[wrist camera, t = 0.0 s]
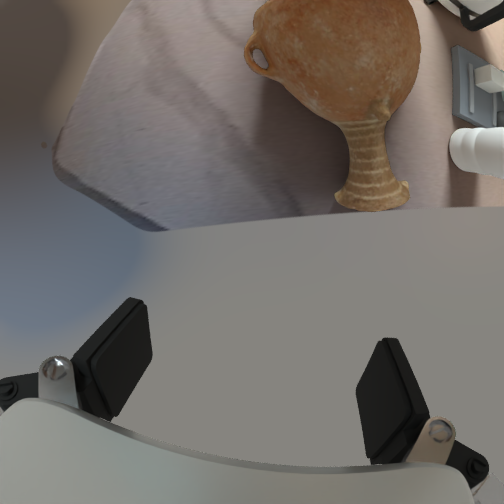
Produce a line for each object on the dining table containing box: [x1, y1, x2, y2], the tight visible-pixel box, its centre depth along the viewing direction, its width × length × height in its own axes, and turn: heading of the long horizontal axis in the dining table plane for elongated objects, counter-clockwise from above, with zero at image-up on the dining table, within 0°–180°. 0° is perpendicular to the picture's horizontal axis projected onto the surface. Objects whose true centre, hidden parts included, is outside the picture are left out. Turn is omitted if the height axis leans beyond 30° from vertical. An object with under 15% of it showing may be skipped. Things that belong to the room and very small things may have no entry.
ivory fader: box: [474, 64, 504, 93], centre depth 22 cm, size 3×4×5 cm
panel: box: [451, 45, 504, 129], centre depth 25 cm, size 13×20×4 cm, turn 84°
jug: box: [244, 0, 421, 212], centre depth 25 cm, size 20×19×30 cm
